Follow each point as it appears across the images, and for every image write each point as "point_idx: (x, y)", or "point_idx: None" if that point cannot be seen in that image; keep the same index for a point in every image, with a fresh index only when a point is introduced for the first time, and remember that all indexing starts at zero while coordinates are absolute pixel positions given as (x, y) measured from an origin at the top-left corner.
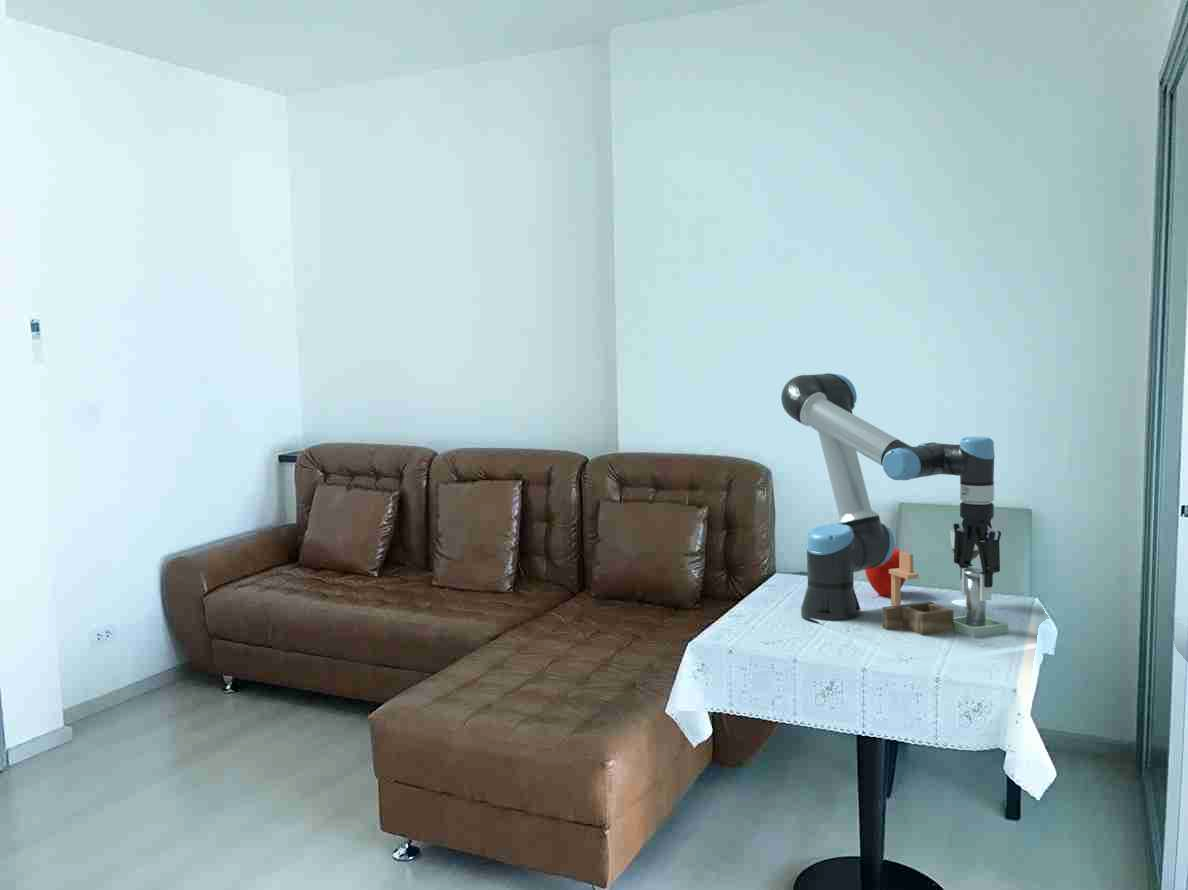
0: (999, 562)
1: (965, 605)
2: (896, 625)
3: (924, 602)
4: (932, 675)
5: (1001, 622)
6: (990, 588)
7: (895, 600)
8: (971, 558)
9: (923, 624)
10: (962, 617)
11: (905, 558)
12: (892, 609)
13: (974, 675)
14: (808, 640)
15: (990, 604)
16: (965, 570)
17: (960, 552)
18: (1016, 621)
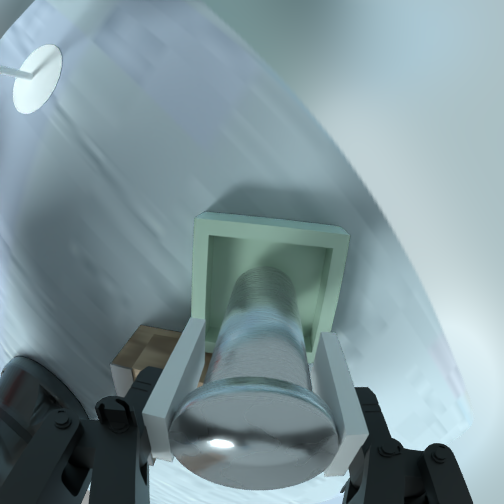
0: (466, 492)
1: (46, 94)
2: None
3: (121, 384)
4: None
5: (324, 238)
6: (346, 370)
7: None
8: (137, 478)
9: None
10: (203, 299)
11: None
12: (151, 456)
13: (424, 442)
14: (160, 489)
15: (73, 28)
16: (208, 475)
17: (68, 501)
18: (228, 64)
